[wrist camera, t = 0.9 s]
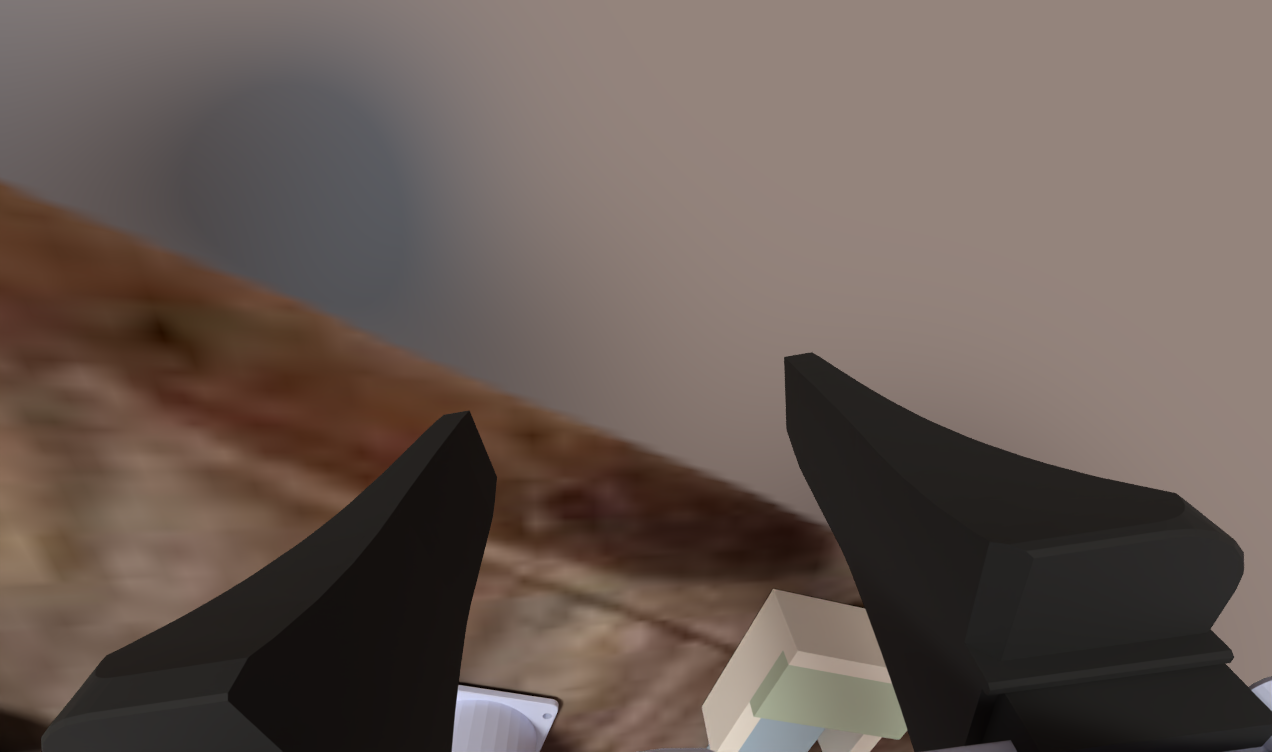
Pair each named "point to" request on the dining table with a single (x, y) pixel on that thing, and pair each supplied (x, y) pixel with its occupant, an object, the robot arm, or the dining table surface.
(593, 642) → the dining table surface
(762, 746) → the tile
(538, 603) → the dining table surface
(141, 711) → the robot arm
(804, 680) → the dock
